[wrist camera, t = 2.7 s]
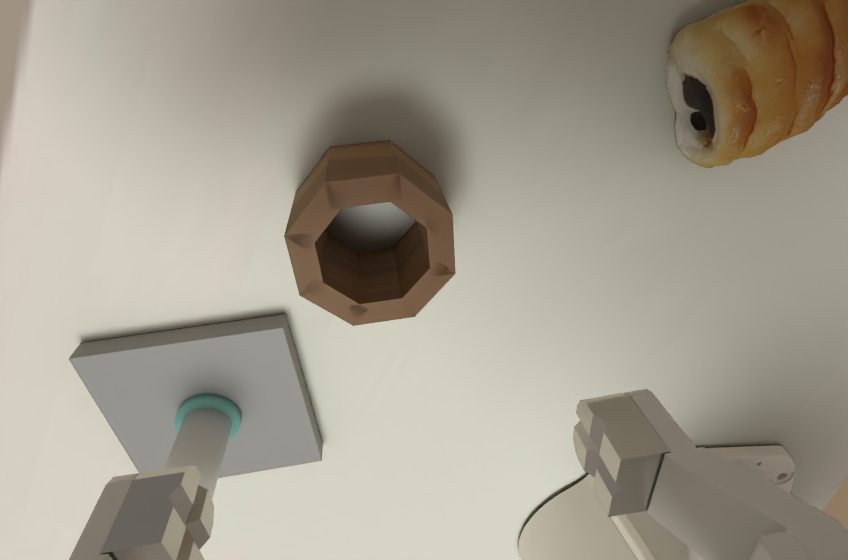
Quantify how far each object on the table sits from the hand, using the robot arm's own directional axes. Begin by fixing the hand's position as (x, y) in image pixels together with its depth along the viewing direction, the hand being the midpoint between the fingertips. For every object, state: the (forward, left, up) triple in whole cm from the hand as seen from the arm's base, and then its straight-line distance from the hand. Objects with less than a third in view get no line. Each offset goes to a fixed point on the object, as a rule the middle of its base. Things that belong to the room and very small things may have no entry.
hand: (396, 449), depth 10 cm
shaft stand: (+10, +10, -14) cm, 20 cm away
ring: (0, 0, -14) cm, 14 cm away
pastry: (-18, -4, -14) cm, 23 cm away
